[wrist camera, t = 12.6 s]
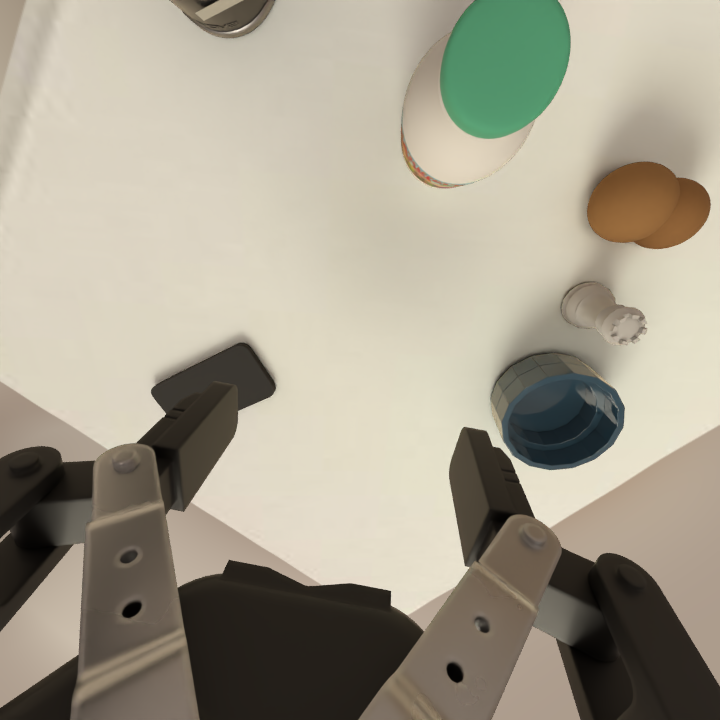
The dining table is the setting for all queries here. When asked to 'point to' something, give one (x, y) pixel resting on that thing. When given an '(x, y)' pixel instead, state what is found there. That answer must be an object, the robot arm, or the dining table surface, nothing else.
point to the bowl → (556, 411)
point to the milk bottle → (483, 90)
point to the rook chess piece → (603, 314)
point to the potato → (647, 206)
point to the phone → (219, 378)
